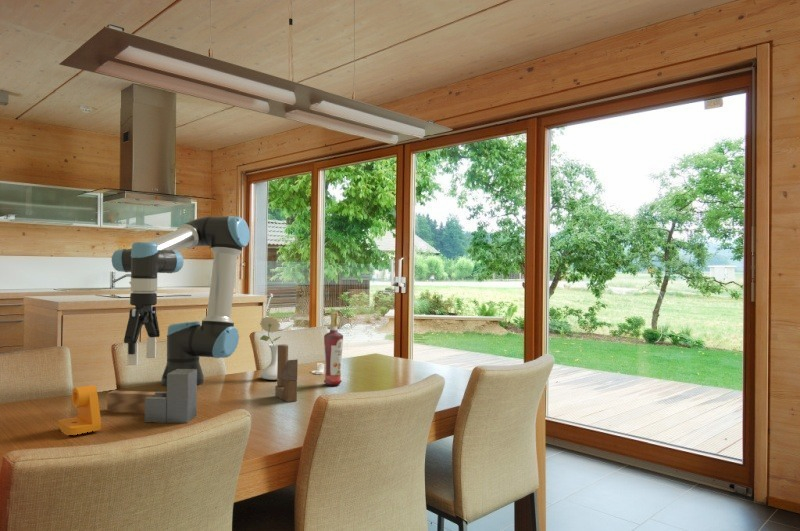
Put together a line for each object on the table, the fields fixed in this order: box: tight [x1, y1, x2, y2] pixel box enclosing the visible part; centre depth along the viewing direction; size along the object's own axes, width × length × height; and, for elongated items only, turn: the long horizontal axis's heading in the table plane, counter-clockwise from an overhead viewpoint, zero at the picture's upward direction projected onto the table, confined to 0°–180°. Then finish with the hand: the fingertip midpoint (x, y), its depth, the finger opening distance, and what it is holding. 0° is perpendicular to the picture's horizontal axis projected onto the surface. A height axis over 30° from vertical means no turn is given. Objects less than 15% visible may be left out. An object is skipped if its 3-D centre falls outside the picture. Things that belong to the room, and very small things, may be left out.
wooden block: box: [274, 343, 299, 403], centre depth 196 cm, size 4×11×18 cm, turn 34°
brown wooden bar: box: [106, 390, 156, 414], centre depth 176 cm, size 20×4×6 cm, turn 86°
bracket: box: [57, 384, 102, 436], centre depth 155 cm, size 11×7×12 cm, turn 49°
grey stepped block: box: [144, 369, 198, 424], centre depth 168 cm, size 9×12×14 cm
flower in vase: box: [259, 315, 282, 381], centre depth 229 cm, size 13×11×25 cm
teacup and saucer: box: [311, 362, 325, 375], centre depth 244 cm, size 9×8×4 cm
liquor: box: [323, 311, 344, 387], centre depth 219 cm, size 7×7×28 cm
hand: (142, 361), depth 176 cm, fingers open, 13 cm apart
